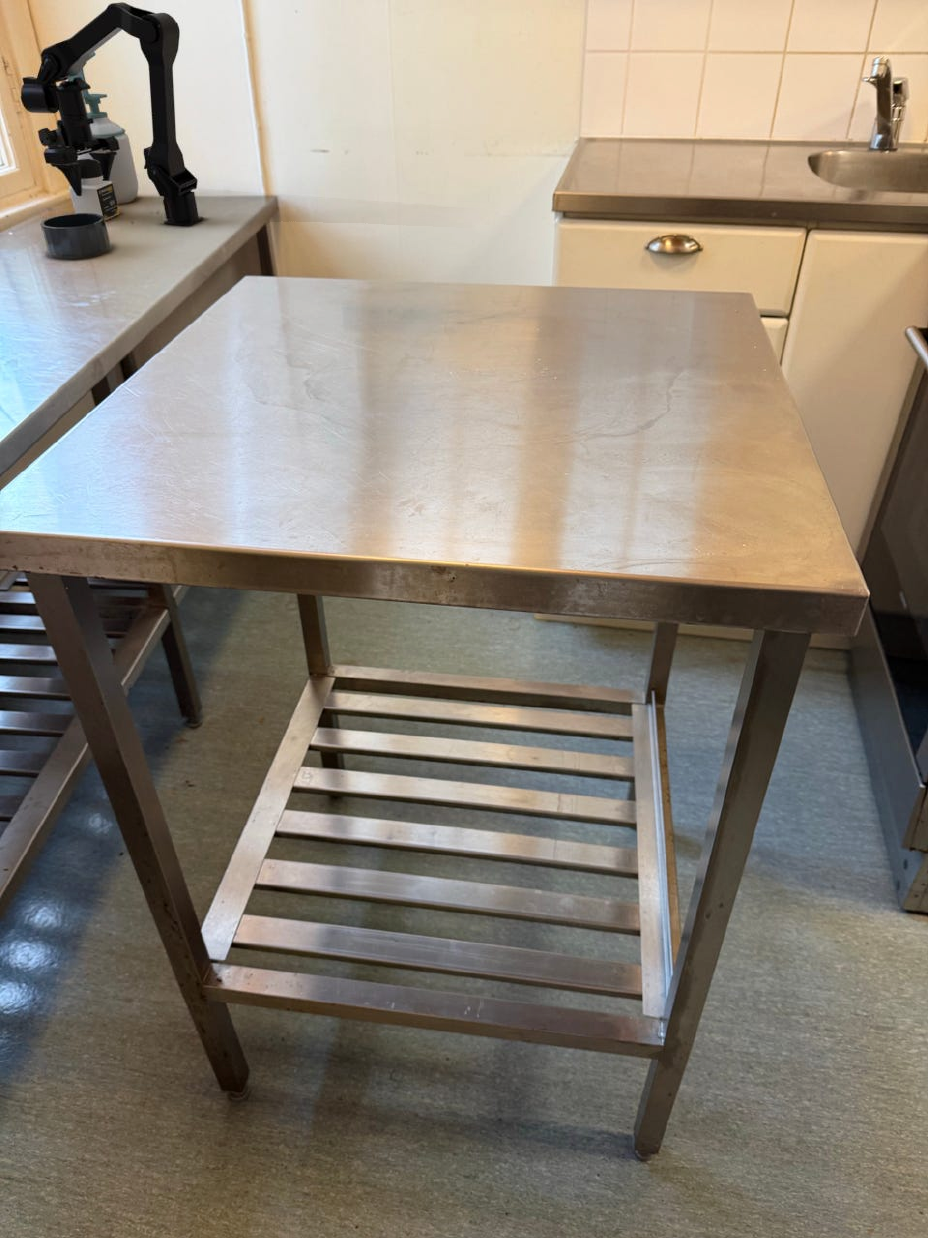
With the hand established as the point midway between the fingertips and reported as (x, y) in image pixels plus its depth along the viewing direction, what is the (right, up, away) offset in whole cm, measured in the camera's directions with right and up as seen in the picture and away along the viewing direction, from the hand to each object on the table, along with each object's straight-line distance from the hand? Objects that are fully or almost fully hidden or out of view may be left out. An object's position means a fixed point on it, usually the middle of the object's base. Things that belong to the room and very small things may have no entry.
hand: (92, 191), depth 205 cm
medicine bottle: (0, -5, +3) cm, 6 cm away
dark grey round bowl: (+6, -22, -19) cm, 30 cm away
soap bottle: (-1, +5, +16) cm, 17 cm away
